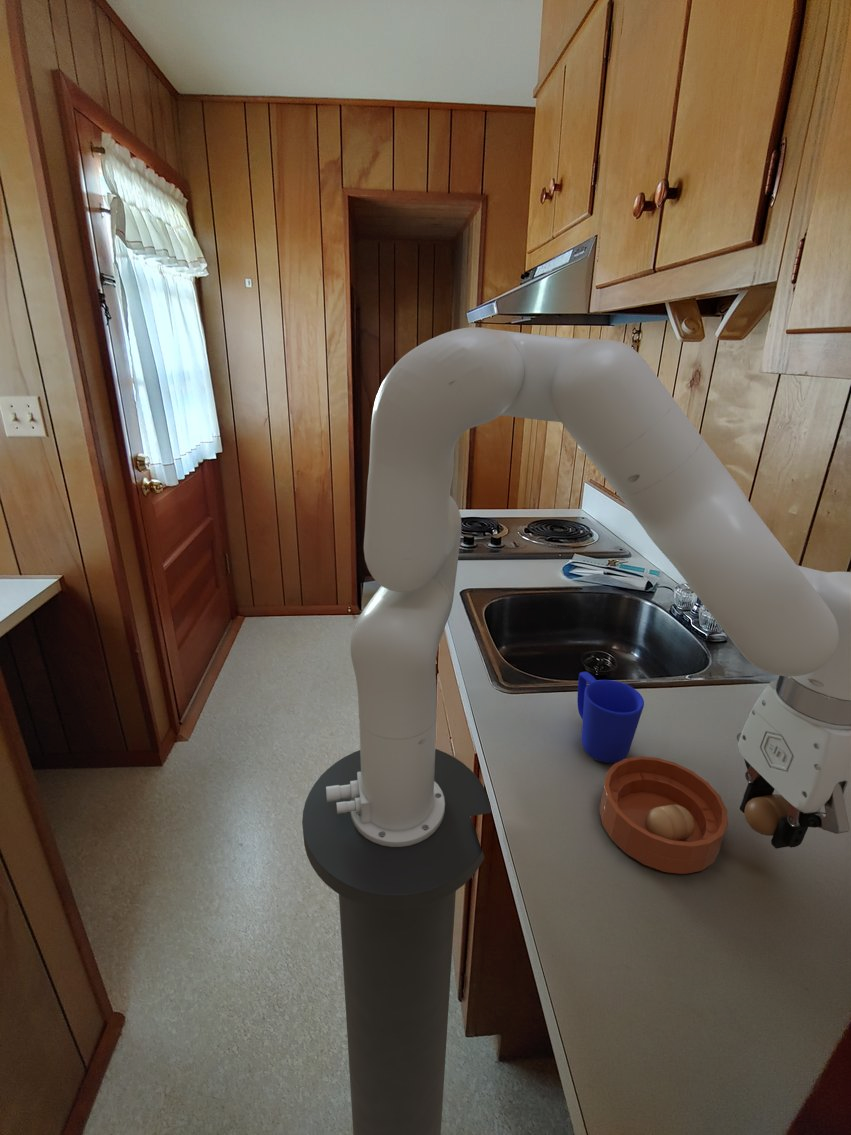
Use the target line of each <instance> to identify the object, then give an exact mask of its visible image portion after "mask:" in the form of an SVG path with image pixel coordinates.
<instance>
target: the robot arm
mask: <svg viewBox="0 0 851 1135" xmlns="http://www.w3.org/2000/svg"><path fill="white" fill-rule="evenodd" d="M500 416H503V417H504V416H505V417H513V418H521V419H528V420H537V421H544V422H554V423H555V422H556V423H561V425H563V427H564V428H565V430H566V431H567V432H568V433H569V435H570V436H571V438H572V439H573V440H574V441H575V443H576V444H577V445H578V447H579V448H580V449H581V450H582V452H583V453H584V454H585V455H586V457H587V458H588V459H589V460H590V462H592V463H593V465H594V466H595V467H596V468H597V471H599V472H600V473H601V475H602V476H603V478H604V479H605V480H606V482H607V483H608V484H609V486H610V487H612V489H613V491H615V493H616V494H617V496H618V497H619V498H620V500H621V501H622V502H623V504H624V505H625V506H626V507H627V509H628V511H630V513H631V514H632V515H633V516H634V518H635V519H636V520H637V522H638V523H639V524H640V526H641V527H642V528H643V529H644V531H645V533H646V534H647V535H648V538H650V540H651V542H652V543H653V544H654V545H655V546H656V547H657V548H658V549H659V550H660V552H661V553H662V554H663V555H664V556H665V558H667V559H668V562H670V563H671V564H672V565H673V567H674V568H675V569H676V571H677V572H678V573H679V574H680V575H681V577H682V578H683V579H684V580H685V582H686V584H687V585H688V586H689V587H690V589H691V590H692V592H693V593H694V595H696V597H697V598H698V600H699V601H700V602H701V603H702V605H703V606H704V607H705V609H706V610H707V611H708V613H709V614H710V615H711V616H712V618H713V619H714V620H715V622H716V623H717V624H718V625H719V627H720V628H721V629H722V631H723V632H724V633H725V634H726V636H727V637H728V638H729V640H731V642H732V643H733V644H734V646H735V647H736V649H738V651H739V652H740V654H741V655H742V656H743V658H745V659H746V660H747V661H748V662H749V663H750V664H751V665H753V666H754V667H756V668H758V669H759V670H761V671H763V672H766V673H768V674H771V675H775V676H778V678H777V679H775V680H771V681H770V682H769V683H768V685H766V687H765V688H764V689H763V691H762V692H761V694H760V695H759V697H758V698H757V699H756V701H755V703H754V705H753V707H752V708H751V711H750V712H749V715H748V716H747V719H746V721H745V723H744V726H743V728H742V731H741V732H740V733H738V734H736V740H737V744H738V745H737V747H738V751H739V754H740V755H741V756H742V758H743V760H744V764H745V766H746V771H745V774H744V776H745V779H746V782H748V783H747V786H746V789H745V791H744V794H743V797H742V800H741V803H740V806H739V810H740V812H742V813H743V814H745V813H744V810H745V806H746V804H747V803H748V802H749V801H750V800H751V799H753V798H755V797H760V796H766V795H774V792H775V791H776V792H777V794H778V795H782V796H783V797H784V798H785V799H786V800H787V801H788V802H789V808H788V814H787V817H782V818H780V820H779V822H778V825H777V827H776V830H775V832H774V835H773V836H771V837H772V838H771V840H770V843H771V844H770V845H771V846H772V847H773V848H774V849H777V850H778V849H784V848H791V849H792V848H797V847H798V846H800V845H801V844H802V842H803V841H804V838H805V836H806V834H807V832H808V830H809V828H813V829H816V828H818V829H822V830H823V831H826V832H830V833H833V834H844V833H848V832H850V823H849V819H848V813H847V808H846V803H845V802H846V800H847V799H848V797H849V796H850V793H851V571H829V572H828V571H823V570H818V569H814V568H810V567H807V566H806V567H805V566H802V565H798V564H796V562H795V561H794V559H793V558H792V557H791V556H790V554H789V553H788V552H787V550H786V549H785V548H784V547H783V546H782V544H781V543H780V542H779V540H778V538H777V537H776V536H775V535H774V533H772V531H771V530H770V528H769V527H768V526H767V524H766V523H765V522H764V520H763V519H762V518H761V517H760V515H759V514H758V512H757V511H756V510H755V508H754V507H753V505H752V504H751V502H750V501H749V499H748V497H747V496H746V494H745V493H744V492H743V490H742V489H741V487H740V486H739V484H738V483H737V481H736V480H735V479H734V477H733V476H732V474H730V472H729V471H728V470H727V468H726V467H725V466H724V464H723V463H722V461H721V460H720V459H719V457H718V456H717V455H716V453H715V452H714V451H713V450H712V448H711V447H710V446H709V444H708V443H707V442H706V441H705V439H704V438H703V436H702V435H701V433H700V432H699V431H698V430H697V428H696V427H695V426H694V424H693V423H692V421H691V420H690V419H689V417H688V416H687V414H686V413H685V412H684V411H683V410H682V408H681V406H680V405H679V404H678V402H677V401H676V400H675V399H674V397H673V396H672V394H671V393H670V392H669V390H668V389H667V387H666V386H665V385H664V384H663V382H662V381H661V379H660V378H659V377H658V376H657V375H656V373H655V371H654V370H653V369H652V368H651V366H650V365H649V363H648V362H647V361H646V360H645V359H644V358H643V356H642V355H641V354H640V353H638V352H637V350H635V348H633V347H632V346H630V345H629V344H627V343H625V342H622V341H619V340H615V339H606V338H579V337H578V338H577V337H566V336H565V337H564V336H553V335H545V334H534V333H525V332H516V331H508V330H500V329H492V328H486V327H478V326H469V327H462V328H458V329H453V330H450V331H447V332H444V333H442V334H439V335H436V336H435V337H433V338H430V339H428V340H426V341H424V342H422V343H420V344H419V345H417V346H415V347H414V348H413V349H411V350H409V351H408V352H407V353H406V354H404V355H403V356H402V357H401V358H400V359H399V360H398V361H397V362H396V363H395V364H394V365H393V366H392V367H391V369H390V370H389V371H388V373H387V374H386V376H385V378H384V379H383V381H382V382H381V384H380V387H379V389H378V391H377V394H376V396H375V400H374V404H373V408H372V414H371V422H370V423H371V424H370V438H369V439H370V441H369V463H368V475H367V486H366V503H365V505H366V506H365V523H364V535H363V536H364V537H363V554H364V562H365V564H366V568H367V570H368V572H369V573H370V575H371V577H372V578H373V579H374V581H375V582H376V583H377V584H378V585H380V586H379V587H378V589H377V590H376V592H375V593H374V594H373V596H372V597H371V598H370V600H369V601H368V603H367V604H366V605H365V607H364V608H363V609H362V611H361V613H360V615H359V617H358V618H357V620H356V622H355V625H354V628H353V630H352V634H351V639H350V658H351V662H352V665H353V671H354V675H355V681H356V689H357V704H358V705H357V706H358V720H359V721H358V722H359V724H358V725H359V726H358V727H359V750H360V757H361V772H357V780H355V781H350V784H349V785H342V786H339V785H335V786H328V787H326V795H327V802H332V801H339V800H341V799H348V798H351V801H348V802H346V801H344V802H337V814H340V813H347V812H351V819H352V821H353V823H354V826H355V827H356V829H357V830H358V831H359V833H361V834H362V835H363V836H364V837H365V838H367V839H368V840H370V841H372V842H374V843H377V844H380V845H383V846H389V847H404V846H410V845H413V844H416V843H419V842H421V841H423V840H425V839H427V838H428V837H429V836H431V835H432V834H433V833H434V832H435V831H436V830H437V829H438V827H439V826H440V824H441V822H442V820H443V817H444V813H445V799H444V795H443V792H442V790H441V788H440V787H439V785H438V784H437V783H436V782H435V781H434V774H435V749H436V746H437V745H436V744H437V719H438V718H437V716H438V715H437V706H438V690H437V689H438V686H437V675H436V664H437V656H438V652H439V650H438V649H439V646H440V643H441V640H442V637H443V635H444V632H445V628H446V625H447V623H448V621H449V617H450V615H451V612H452V608H453V603H454V596H455V588H456V580H457V572H458V563H459V554H460V548H461V538H462V517H461V512H460V509H459V506H458V504H457V501H455V499H454V498H453V497H452V495H451V489H452V483H453V478H454V470H455V469H454V467H455V450H456V449H455V448H456V445H457V443H458V441H459V439H460V438H461V437H462V435H463V434H464V433H465V432H467V431H469V430H470V429H472V428H476V427H479V426H482V425H485V424H489V423H490V422H492V421H494V420H496V419H498V418H499V417H500ZM823 807H824V811H825V812H821V809H822V808H823Z"/></svg>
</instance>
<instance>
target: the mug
mask: <svg viewBox="0 0 851 1135" xmlns="http://www.w3.org/2000/svg"><path fill="white" fill-rule="evenodd" d="M577 682H578V683H577V697H576V698H577V699H576V700H577V701H576V702H577V710H578V714H579V717H580V718H581V720H582V724H581V738H580V739H581V745H582V747H583V750H584V751H585V752H586V754H587V755H588V756H590V757H591V758H593V759H594V760H596V761H598V762H602V763H606V764H615V763H617V762H619V761H621V760H623V759H626V758H627V756H628V754H629V752H630V750H631V746H632V744H633V741H634V738H635V734H636V731H637V729H638V725H639V722H640V718H641V716H642V713H643V710H644V707H645V700H644V697H643V695H642V694H641V692H639V691H638V690H637V689H635V688H634V687H632V686H630V685H629V684H627V683H623V682H621V681H619V680H612V679H598V680H597V679H596V678H595V677H594V676H593V675H592V674H591V673H590V672H588V671H581V672H579V674H578V681H577Z"/></svg>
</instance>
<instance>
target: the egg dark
mask: <svg viewBox="0 0 851 1135" xmlns="http://www.w3.org/2000/svg"><path fill="white" fill-rule="evenodd" d="M788 808H789V802H788V801H787V800H786V799H785V798H784V797H783V796H782V795H781V794H779V793H777V794H774V793H773V794H772V795H766V796H760V797H755V798H753V799H751V800H750V801H749V802H748V803H747V804H746V806H745V810H744V813H743V814H744V818H745V820H746V822H747V824H748V826H749V827H750V828H751V829H752V830H754V831H755V832H756V833H758V834H760V835H762V836H766V837H767V836H768V837H773V835H774V832H775V830H776V827H777V825H778V822H779V820H780V818H782V817H787V814H788Z"/></svg>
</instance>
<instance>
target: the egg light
mask: <svg viewBox="0 0 851 1135" xmlns="http://www.w3.org/2000/svg"><path fill="white" fill-rule="evenodd" d="M645 826H646V829H647V831H648V832H650V833H652V834H654V835H657V836H660V837H663V838H666V839H669V840H674V841H680V840H685V839H687V838H689V837H690V836H691V835H692V834H693V832H694V829H695V822H694V819H693V816H692V815H691V813H690V812H689V811H688V810H687V809H685V808H684V807H682V806H680V805H667V806H661V807H656V808H653V809H651V810H650V811H649V812H648V813H647V815H646V818H645Z"/></svg>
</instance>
